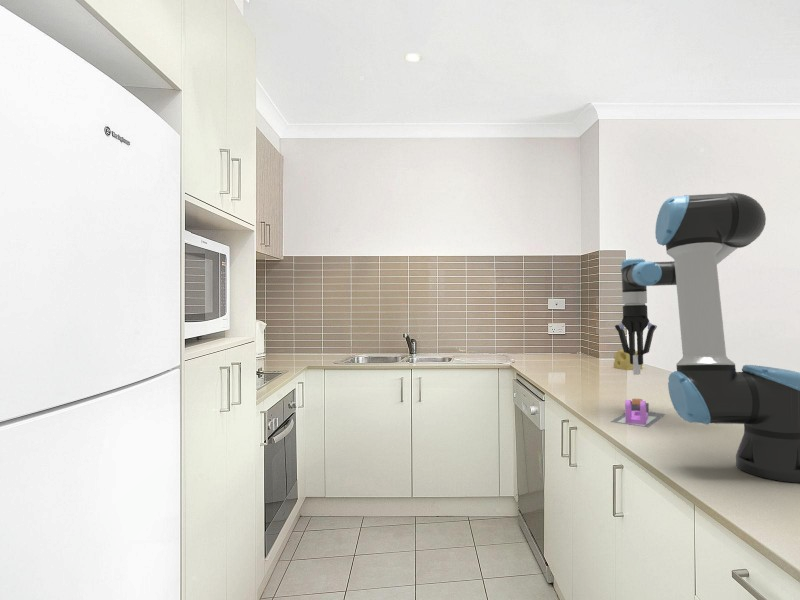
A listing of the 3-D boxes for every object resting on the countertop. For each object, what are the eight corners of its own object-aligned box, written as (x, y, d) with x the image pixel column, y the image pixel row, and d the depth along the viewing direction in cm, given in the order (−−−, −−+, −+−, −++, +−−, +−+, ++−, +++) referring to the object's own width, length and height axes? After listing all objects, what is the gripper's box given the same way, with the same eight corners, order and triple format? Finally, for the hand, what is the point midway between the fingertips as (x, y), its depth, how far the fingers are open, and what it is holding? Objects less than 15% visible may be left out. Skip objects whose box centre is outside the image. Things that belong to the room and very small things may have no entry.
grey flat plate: (648, 428, 145) (648, 426, 145) (610, 423, 153) (610, 421, 153) (666, 415, 161) (666, 413, 161) (631, 410, 168) (630, 409, 168)
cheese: (613, 368, 268) (613, 350, 268) (629, 366, 271) (628, 348, 271) (627, 370, 258) (627, 351, 258) (643, 369, 261) (643, 350, 261)
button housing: (644, 414, 160) (643, 405, 160) (626, 412, 164) (626, 403, 164) (648, 411, 164) (648, 403, 164) (631, 409, 168) (631, 401, 168)
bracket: (645, 425, 147) (645, 402, 147) (625, 423, 150) (625, 400, 150) (648, 415, 158) (648, 394, 158) (630, 414, 161) (629, 393, 161)
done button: (641, 412, 162) (640, 400, 162) (631, 411, 164) (630, 399, 164) (644, 410, 164) (643, 399, 164) (634, 409, 166) (633, 398, 166)
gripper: (658, 304, 162) (661, 374, 162) (618, 304, 171) (620, 371, 171) (652, 304, 157) (655, 376, 156) (611, 305, 166) (613, 374, 165)
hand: (636, 374), depth 164 cm, fingers closed
